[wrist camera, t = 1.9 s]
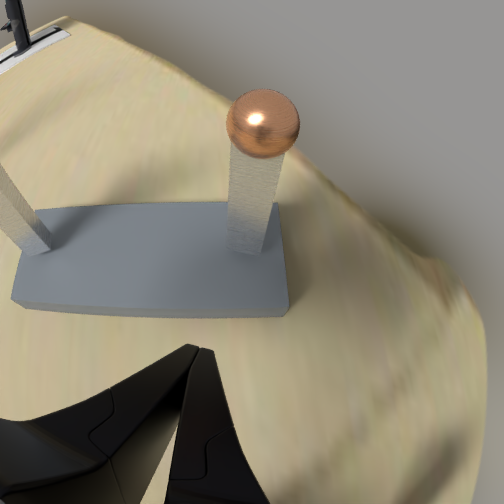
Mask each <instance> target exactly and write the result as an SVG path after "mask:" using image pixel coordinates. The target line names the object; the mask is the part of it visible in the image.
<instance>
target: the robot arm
mask: <svg viewBox="0 0 504 504" xmlns="http://www.w3.org/2000/svg"><path fill="white" fill-rule="evenodd" d="M177 425H178V428H177V433H176V439H175V445H174V450H173V456H172V462H171V467H170V473H169V482H168V486H167V491H166V497H165V501H164V504H270V502H269V501H268V499H267V497H266V495H265V494H264V492H263V490H262V488H261V486H260V485H259V483H258V481H257V479H256V477H255V475H254V474H253V472H252V470H251V468H250V466H249V464H248V462H247V460H246V457H245V455H244V453H243V451H242V448H241V445H240V443H239V440H238V437H237V434H236V430H235V427H234V424H233V421H232V417H231V414H230V410H229V407H228V403H227V400H226V396H225V392H224V389H223V385H222V381H221V377H220V374H219V370H218V366H217V362H216V358H215V354H214V351H213V350H210V349H206V348H199V347H198V346H195V345H191V344H185V345H184V346H182V347H180V348H178V349H177V350H175V351H173V352H172V353H170V354H168V355H167V356H165V357H163V358H161V359H160V360H158V361H156V362H155V363H153V364H151V365H149V366H148V367H146V368H144V369H142V370H141V371H139V372H137V373H135V374H133V375H132V376H130V377H128V378H126V379H125V380H123V381H121V382H119V383H117V384H115V385H114V386H112V387H110V389H109V388H108V389H106V390H104V391H102V392H101V393H99V394H97V395H95V396H93V397H91V398H89V399H87V400H84V401H82V402H79V403H77V404H75V405H72V406H70V407H67V408H64V409H61V410H59V411H56V412H53V413H50V414H47V415H44V416H41V417H38V418H35V419H32V420H27V421H11V420H6V419H2V418H0V504H140V502H141V500H142V498H143V496H144V494H145V492H146V490H147V488H148V486H149V484H150V481H151V479H152V477H153V475H154V473H155V471H156V469H157V467H158V465H159V463H160V461H161V459H162V457H163V454H164V452H165V450H166V448H167V446H168V444H169V442H170V440H171V438H172V436H173V434H174V431H175V429H176V427H177Z"/></svg>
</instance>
